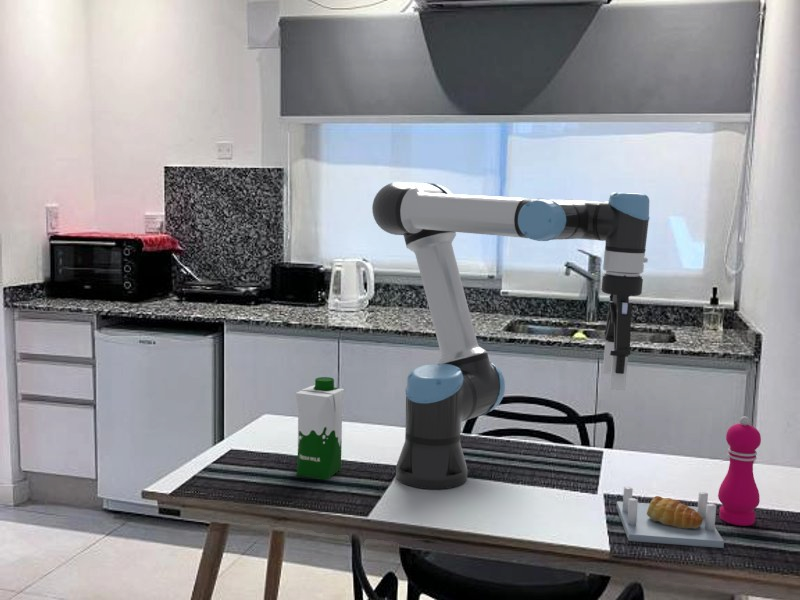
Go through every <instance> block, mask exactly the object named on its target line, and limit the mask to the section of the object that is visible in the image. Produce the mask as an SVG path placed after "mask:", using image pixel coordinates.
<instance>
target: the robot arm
mask: <svg viewBox="0 0 800 600" xmlns="http://www.w3.org/2000/svg"><path fill="white" fill-rule="evenodd" d="M371 206H372V208H371V209H372V210H371V211H372V216H373V219H374V221H375V223H376V224H377V226H378V227H379V228H380V229H381V230H383V232H386V233H387V234H390V235H394V236H403V238H404V242H405V245H406V248H407V249H408V250H409V251H411V252H413V253H414V255H415V259H416V262H417V266H418V271H419V274H420V278H421V281H422V285H423V289H424V293H425V297H426V301H427V306H428V308H429V312H430V316H431V320H432V324H433V328H434V332H435V335H436V339H437V344H438V347H439V352H440V358H439V359H438V361H437V362H436V363H433V364H425V365H420V366H418V367H416V368H413V370H412V371H410V372H409V374H408V376H407V378H406V379H407V381H406V387H405V430H404V431H405V435H404V436H405V438H404V442H403V446H402V449H401V452H400V454H399V457H398V461H397V462H396V467H395V468H396V469H395V477H396V479H397V480H398V481H399V482H400V483H403V484H404V485H406V486H410V487H413V488H417V489H418V488H419V489H427V490H442V489H452V488H455V487H459V486H462V485H463V484H465V483H466V482H467V480H468V465H467V463H466V458H465V455H464V452H463V448H462V445H461V430H462V429H461V428H462V427H461V426H462V422H465V421H468V420H471V419H475V418H476V417H481V416H485V415H487V414H488V413H490V412H492V411H493V410H495V409H496V408H497V407H498V406H499V405H500V404H501V402H502V400H503V399H504V396H505V395H504V394H505V392H506V391H505V389H506V384H505V383H506V381H505V379H504V378H505V377H504V375H503V372H502V370H501V369H500V368H499V367H498V366H496V365H495V363H493V362H491V361H490V359H489V355H488V351H487V350H486V349H484V348H483V347H481V346H479V344H478V343H479V342H478V339H477V336H476V331H475V327H474V324H473V321H472V316H471V313H470V309H469V306H468V301H467V298H466V293H465V289H464V286H463V282H462V278H461V274H460V271H459V266H458V262H457V260H456V255H455V252H454V247H453V244H452V243H453V241H454V240H455V238H456V236H457V233H467V234H476V235H487V236H488V235H489V236H499V237H500V236H501V237H510V238H511V237H512V238H522V239H529V240H533V241H536V242H537V241H538V242H548V241H551V240H552V241H556V240H578V239H579V240H589V241H590V240H591V241H602V242H604V241H605V245H604V247H605V248H604V251H603V252H604V255H603V265H602V266H603V267H602V270H603V271H605V273H604V274H603V275H602V278H601V279H602V280H601V291H602V293H604V294H606V295H609V302H608V305H607V306H608V311H607V318H606V324H605V325H606V326H605V329H604V330H605V331H604V336H605V337H604V339H605V342H604V352H603V362H602V363H603V365H602V374H609V375H610V379H609V380H610V381H609V390H611V391H613V390H615V391H623V392H624V391H626V381H627V380H626V379H627V372H628V371H627V370H628V363H629V362H628V361H629V360H628V359H629V356H630V355H631V353H632V352H631V329H632V310H633V304H632V302H630V299H629V298H630V297H638V296H640V295H642V293H643V292H642V291H643V282H644V278H643V276H641V274H643V273H644V271H645V270H644V269H645V264H644V263H648V260H649V259H648V258H647V257H645V256H646V248H647V247H646V246H647V238H648V229H649V223H650V222H649V221H650V198H649V196H648V195H646V194H645V193H631V192H630V193H629V192H612V193H611V194H610V195H609V198H608V201H589V200H580V199H579V200H578V199H572V198H571V199H567V198H566V199H551V198H526V197H509V196H508V197H507V196H489V195H474V194H473V195H472V194H471V195H469V194H454V193H452V192H451V190H450V189H448V188H447V187H444V186H443V185H440V184H436V183H432V182H420V183H419V182H404V181H403V182H402V181H396V182H391V183H388V184H386V185H384V186H383V187H382V188H381V189H380V190H378V192H376V195H375V196H374V198H373V201H372V205H371Z"/></svg>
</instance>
